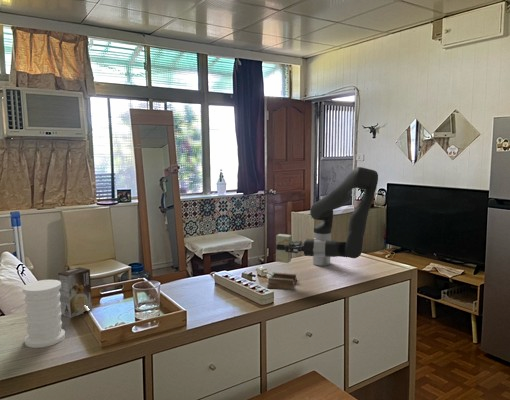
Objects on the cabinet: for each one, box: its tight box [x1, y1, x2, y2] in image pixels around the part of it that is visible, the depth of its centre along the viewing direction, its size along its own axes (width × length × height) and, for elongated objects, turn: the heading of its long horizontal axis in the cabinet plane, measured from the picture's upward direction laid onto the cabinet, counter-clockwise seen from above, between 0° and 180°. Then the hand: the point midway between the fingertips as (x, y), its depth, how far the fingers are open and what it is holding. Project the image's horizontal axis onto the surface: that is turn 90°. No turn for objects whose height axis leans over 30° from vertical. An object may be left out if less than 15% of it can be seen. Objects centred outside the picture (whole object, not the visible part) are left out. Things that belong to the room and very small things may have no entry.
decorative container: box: [21, 279, 66, 349], centre depth 129 cm, size 12×12×18 cm
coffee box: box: [57, 266, 93, 319], centre depth 150 cm, size 9×6×16 cm
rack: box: [266, 271, 298, 291], centre depth 184 cm, size 14×11×4 cm
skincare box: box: [275, 233, 293, 264], centre depth 182 cm, size 6×4×12 cm
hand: (277, 245), depth 183 cm, fingers closed on skincare box, 5 cm apart
